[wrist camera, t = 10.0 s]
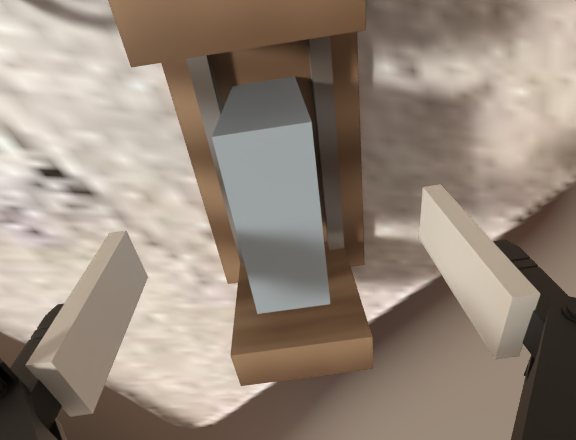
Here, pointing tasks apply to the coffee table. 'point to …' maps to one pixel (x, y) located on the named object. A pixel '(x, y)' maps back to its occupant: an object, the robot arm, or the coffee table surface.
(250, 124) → the gray rectangular block
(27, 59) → the coffee table surface
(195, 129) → the wooden u-shaped holder
